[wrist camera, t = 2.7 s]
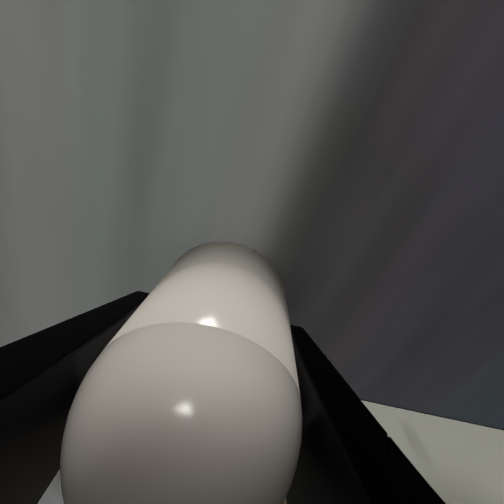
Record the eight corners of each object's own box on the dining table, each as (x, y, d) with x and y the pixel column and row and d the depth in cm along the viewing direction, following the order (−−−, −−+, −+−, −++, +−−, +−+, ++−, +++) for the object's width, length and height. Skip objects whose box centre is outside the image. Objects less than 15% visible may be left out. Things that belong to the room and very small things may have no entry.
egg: (301, 258, 8) (399, 543, 2) (268, 353, 10) (272, 651, 4) (172, 228, 8) (-104, 449, 2) (161, 330, 9) (0, 606, 4)
